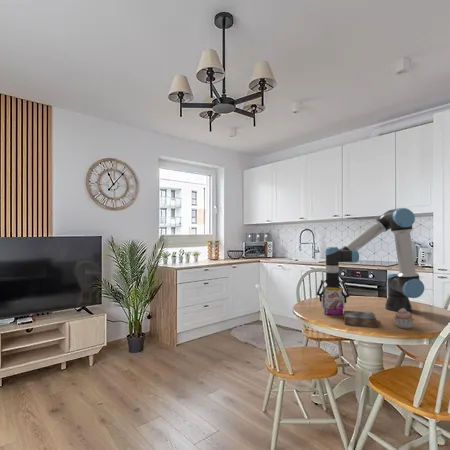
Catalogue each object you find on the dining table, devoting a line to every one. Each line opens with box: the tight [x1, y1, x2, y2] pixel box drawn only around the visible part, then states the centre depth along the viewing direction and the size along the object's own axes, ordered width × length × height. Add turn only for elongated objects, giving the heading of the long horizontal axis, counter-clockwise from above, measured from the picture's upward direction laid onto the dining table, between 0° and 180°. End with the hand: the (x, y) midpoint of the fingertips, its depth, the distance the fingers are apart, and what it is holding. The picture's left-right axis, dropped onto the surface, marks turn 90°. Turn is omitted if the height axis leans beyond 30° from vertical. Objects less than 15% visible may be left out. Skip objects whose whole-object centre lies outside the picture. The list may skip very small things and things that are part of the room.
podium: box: [343, 310, 378, 328], centre depth 173 cm, size 16×16×4 cm
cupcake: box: [393, 308, 415, 330], centre depth 162 cm, size 9×9×10 cm
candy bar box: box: [322, 286, 344, 316], centre depth 191 cm, size 11×5×16 cm, turn 84°
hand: (332, 307), depth 191 cm, fingers closed on candy bar box, 12 cm apart
